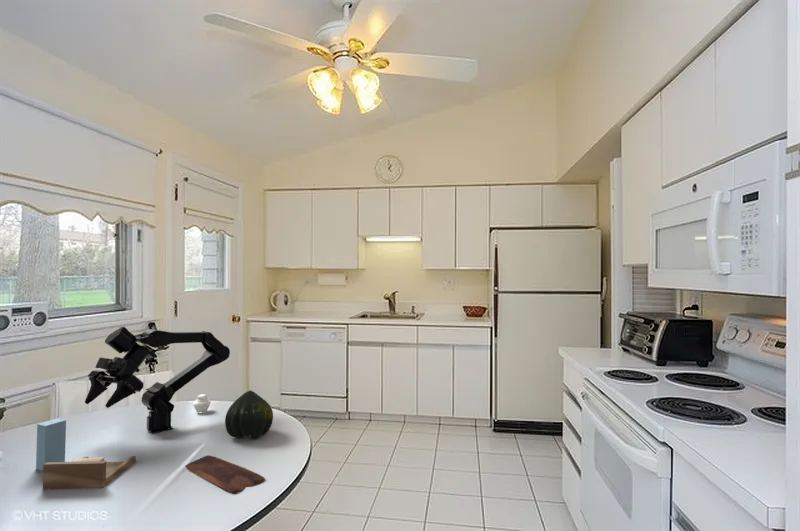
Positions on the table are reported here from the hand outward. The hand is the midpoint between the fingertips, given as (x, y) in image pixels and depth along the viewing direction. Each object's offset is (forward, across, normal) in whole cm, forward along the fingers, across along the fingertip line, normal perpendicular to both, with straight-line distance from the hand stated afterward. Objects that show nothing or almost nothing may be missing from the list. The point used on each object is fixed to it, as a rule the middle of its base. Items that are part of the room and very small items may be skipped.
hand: (96, 405), depth 129 cm
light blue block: (+19, +2, 0) cm, 19 cm away
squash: (-10, +34, +29) cm, 46 cm away
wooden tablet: (+8, +46, +13) cm, 48 cm away
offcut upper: (+18, +19, -4) cm, 26 cm away
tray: (+18, +17, +1) cm, 25 cm away
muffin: (-18, +1, +38) cm, 42 cm away
